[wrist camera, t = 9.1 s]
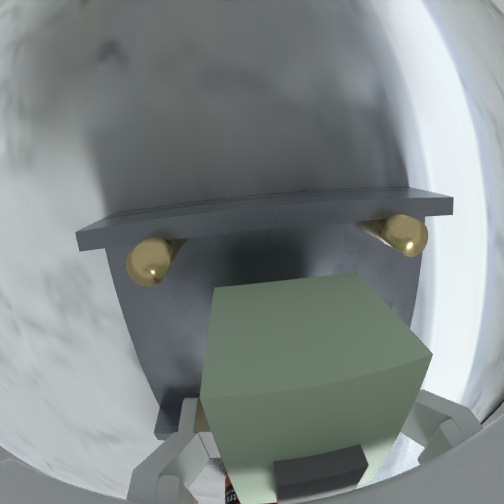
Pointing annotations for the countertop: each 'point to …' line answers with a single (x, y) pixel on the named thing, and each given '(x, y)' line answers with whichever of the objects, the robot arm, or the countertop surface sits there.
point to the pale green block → (306, 385)
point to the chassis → (250, 264)
